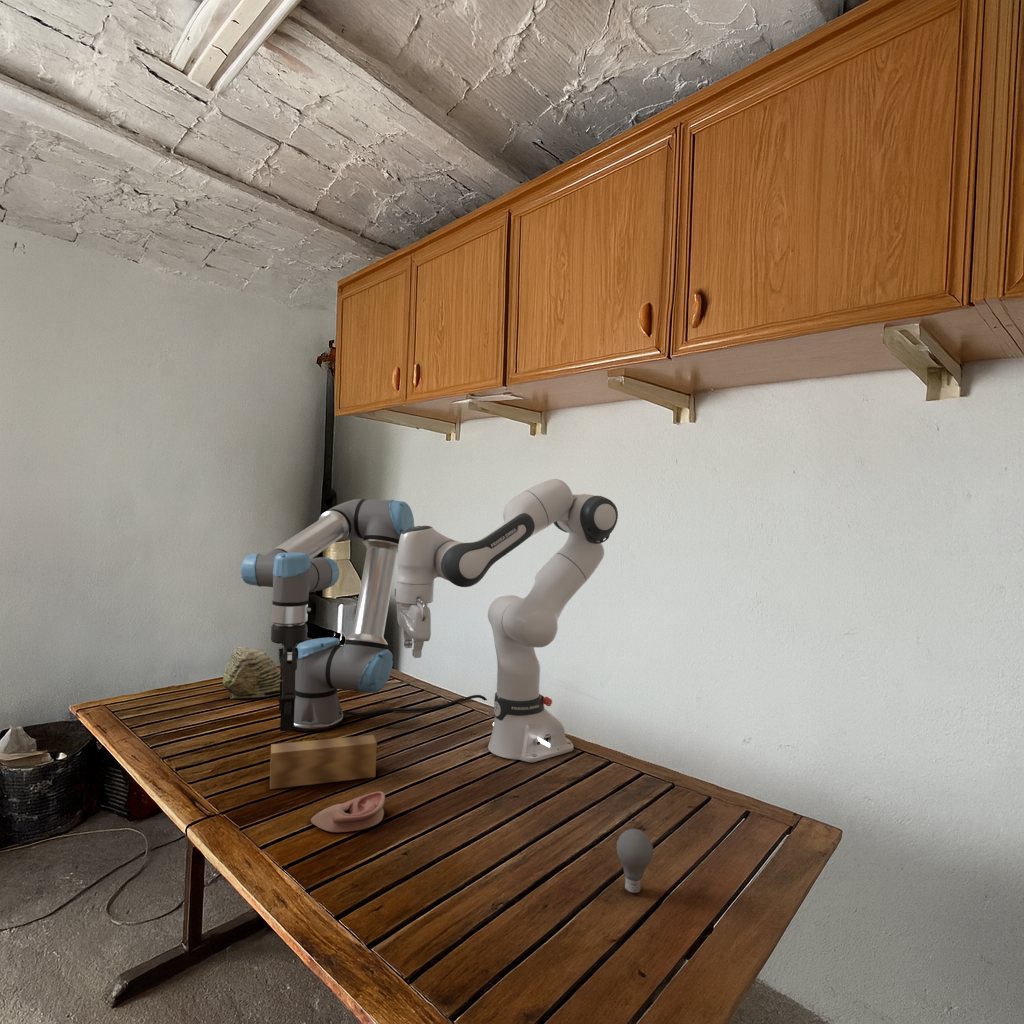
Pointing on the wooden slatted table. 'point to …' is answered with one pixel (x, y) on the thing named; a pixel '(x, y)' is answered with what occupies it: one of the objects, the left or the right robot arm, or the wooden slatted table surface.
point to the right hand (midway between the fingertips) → (412, 652)
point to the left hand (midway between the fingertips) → (286, 719)
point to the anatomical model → (352, 814)
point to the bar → (322, 761)
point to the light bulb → (634, 857)
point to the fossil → (251, 674)
